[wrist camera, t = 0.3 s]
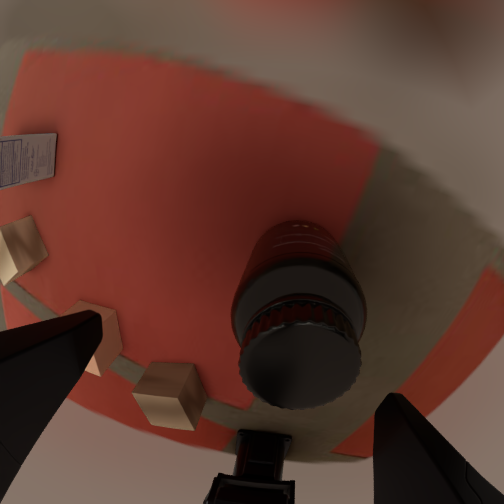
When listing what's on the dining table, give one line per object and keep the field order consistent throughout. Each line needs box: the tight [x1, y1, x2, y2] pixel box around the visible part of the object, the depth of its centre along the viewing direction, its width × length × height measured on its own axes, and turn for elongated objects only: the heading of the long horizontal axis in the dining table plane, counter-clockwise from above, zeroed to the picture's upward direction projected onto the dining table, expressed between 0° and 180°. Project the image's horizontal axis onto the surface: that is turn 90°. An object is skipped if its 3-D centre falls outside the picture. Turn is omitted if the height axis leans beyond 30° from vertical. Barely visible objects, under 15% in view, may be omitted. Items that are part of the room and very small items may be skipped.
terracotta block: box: [59, 300, 123, 377], centre depth 24 cm, size 5×5×5 cm
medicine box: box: [0, 133, 57, 190], centre depth 17 cm, size 8×4×9 cm, turn 80°
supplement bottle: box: [231, 221, 367, 410], centre depth 15 cm, size 7×7×12 cm
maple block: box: [0, 215, 48, 286], centre depth 22 cm, size 5×5×5 cm
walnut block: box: [132, 362, 207, 431], centre depth 25 cm, size 5×5×5 cm
